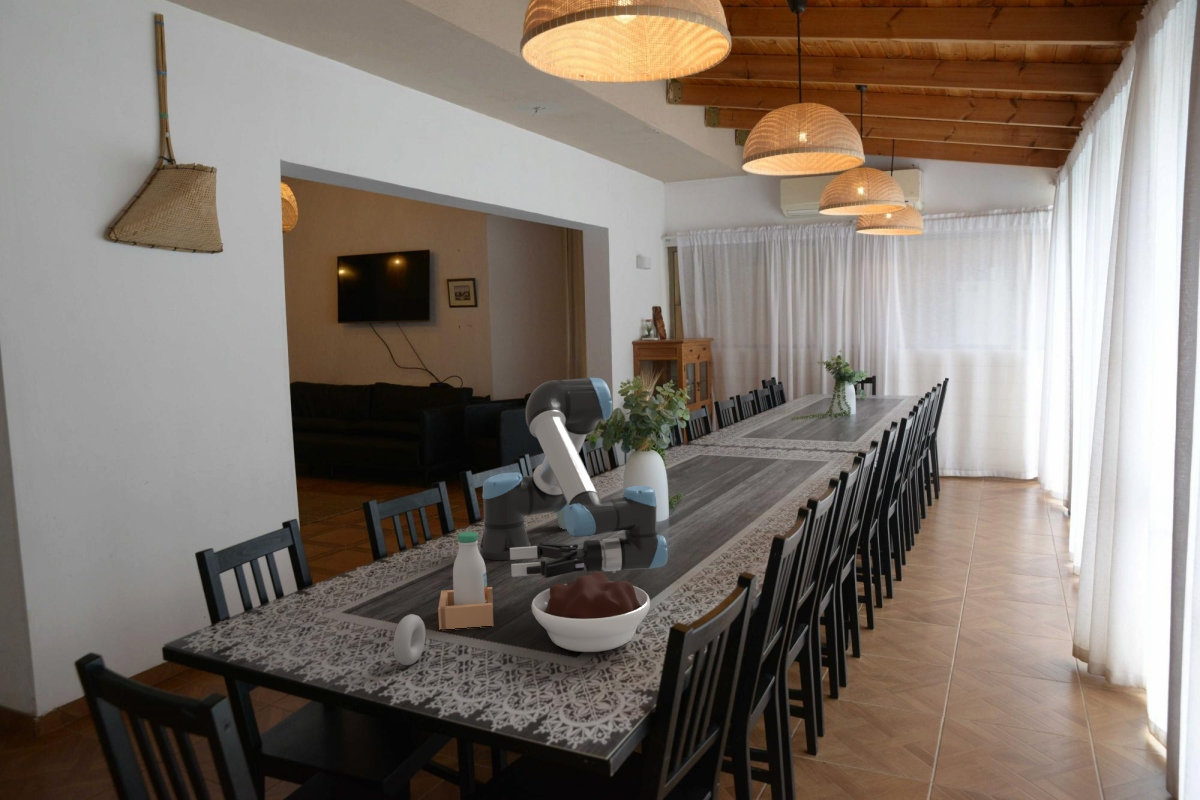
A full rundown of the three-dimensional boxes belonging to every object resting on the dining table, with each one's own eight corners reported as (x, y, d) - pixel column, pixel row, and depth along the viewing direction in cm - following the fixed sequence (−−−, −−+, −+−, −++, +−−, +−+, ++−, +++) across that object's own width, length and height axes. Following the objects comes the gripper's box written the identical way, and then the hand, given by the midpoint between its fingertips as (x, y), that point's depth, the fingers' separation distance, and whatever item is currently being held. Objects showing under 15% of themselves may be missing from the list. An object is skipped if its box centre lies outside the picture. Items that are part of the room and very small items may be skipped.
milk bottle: (481, 624, 190) (477, 538, 189) (449, 623, 192) (445, 537, 190) (493, 612, 198) (489, 529, 196) (462, 611, 200) (458, 529, 198)
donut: (407, 674, 165) (404, 625, 164) (391, 673, 165) (388, 624, 165) (429, 654, 174) (427, 607, 173) (414, 653, 175) (412, 606, 174)
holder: (493, 607, 202) (492, 586, 201) (493, 626, 189) (492, 604, 189) (442, 611, 200) (441, 590, 200) (439, 630, 187) (438, 609, 187)
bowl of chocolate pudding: (543, 621, 191) (541, 556, 190) (653, 621, 189) (651, 556, 187) (522, 666, 167) (519, 592, 165) (648, 667, 164) (646, 592, 163)
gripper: (609, 587, 185) (512, 594, 183) (595, 556, 210) (510, 562, 207) (608, 554, 185) (511, 561, 182) (594, 527, 209) (508, 532, 207)
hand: (510, 561), depth 195 cm, fingers open, 13 cm apart
